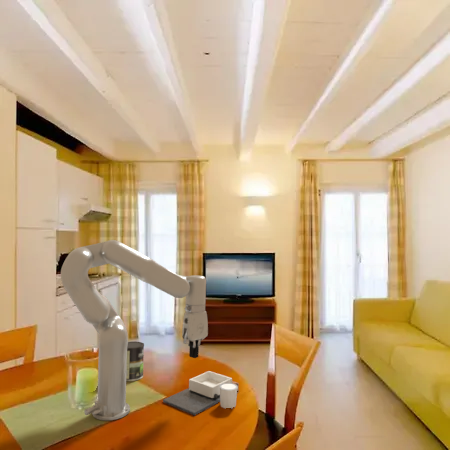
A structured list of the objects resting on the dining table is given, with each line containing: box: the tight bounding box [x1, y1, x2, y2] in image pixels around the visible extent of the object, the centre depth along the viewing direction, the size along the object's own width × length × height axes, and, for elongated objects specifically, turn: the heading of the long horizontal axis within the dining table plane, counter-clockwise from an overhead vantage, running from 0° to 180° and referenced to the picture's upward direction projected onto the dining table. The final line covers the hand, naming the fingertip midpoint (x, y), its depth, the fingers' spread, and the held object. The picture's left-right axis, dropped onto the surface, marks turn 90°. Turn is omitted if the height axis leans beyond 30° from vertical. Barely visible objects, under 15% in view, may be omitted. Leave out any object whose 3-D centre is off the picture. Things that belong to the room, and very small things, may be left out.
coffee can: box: [126, 341, 145, 382], centre depth 165 cm, size 10×10×14 cm
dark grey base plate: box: [162, 380, 240, 416], centre depth 146 cm, size 26×16×4 cm, turn 142°
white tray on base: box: [188, 370, 233, 398], centre depth 150 cm, size 12×14×4 cm
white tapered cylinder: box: [219, 383, 239, 409], centre depth 140 cm, size 7×7×7 cm
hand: (193, 356), depth 143 cm, fingers closed
